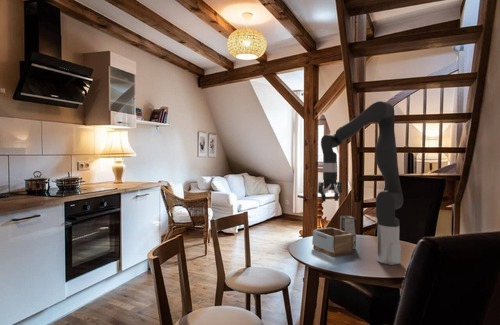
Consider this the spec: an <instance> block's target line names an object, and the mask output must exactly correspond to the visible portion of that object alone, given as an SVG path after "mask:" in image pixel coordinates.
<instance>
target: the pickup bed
mask: <svg viewBox="0 0 500 325" xmlns="http://www.w3.org/2000/svg"><path fill="white" fill-rule="evenodd" d="M314 230H316V231H319V232H321V233H324V234H327V235H330V236H333V237H334V243H333V252H332V253H331V252H329V251H327V250H324V249H322V248H320V247H317V246H315V245H313V249H314V250H317V251H319V252H322V253H324V254H325V255H328V256H331V257H333V258H337V257H338V258H339V257H343V256H348V255H353V253H354V252H353V251H354V249H353V234H351V233H348V232H345V231H342V230H340V228H339V229H338V228H334V227H332V226H331V227H321V228H315V229H314Z"/></svg>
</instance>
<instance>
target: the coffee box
mask: <svg viewBox="0 0 500 325" xmlns="http://www.w3.org/2000/svg"><path fill="white" fill-rule="evenodd" d="M339 219H340V220H339V230H342V231H345V232H348V233H351V234H353V250H356V249H357V248H356V247H357V218H356V217H354V216H352V215H340V218H339Z"/></svg>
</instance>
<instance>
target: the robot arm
mask: <svg viewBox="0 0 500 325" xmlns="http://www.w3.org/2000/svg"><path fill="white" fill-rule="evenodd" d="M376 121H377V123H378V130H379V131H378V132H379V133H378V138H377V142H376V143H375V144H376V145H375V159H376V160H375V161H376V165H377V168H378V169H379V171H380V173H381V175H382V177H383V180H384V186H385V188H384V189H385V190H382V191H379V192H378V193H377V194H376V200H375V215H376V216H375V217H376V219H377V234H376V235H377V240H376V244H377V246H376V261H377V262H379V263H381V264H385V265H390V266H393V265H399V264H401V252H402V251H401V250H402V248H401V247H402V244H401V242H400V219H399V218H397V217H396V211H395V210H398V209H399V210H400V209H401V208H402V206H403V204H404V195H403V191H402V186H401V181H400V172H399V163H398V162H399V161H398V151H397V143H396V133H395V109H394V107H393V105H392V104H391V103H390V102H386V101H383V100H382V101H381V100H378V101H375V102H373V103H371V104H370V105H369V106H368V107H366V109H365V110H363V111H362V112H360V114H359V115H357V116H356V117H354V118H353V119H352V120H350V121H349V122H347V123H345V124H344V125H342V126H340V127H339V128H338V129H336V131H335V133H334V134H323V136H322V137H321V139H320V146H321V150H322V155H323V163H322V164H323V166H322V180H323V182H321V181H319V182H318V185H317V187H318V189H317V193H318V194H320V195H321V196H320V197H321V201H322V202H324V203H325V202H326V197H327V196H326V194H327V192H328V191H333V193H334V199H333V200H334V202H337V201H339V198H340V197H339V195H340V193H342V190H343V189H342V187H343V186H342V181H337V180H338V163H337V162H338V160H337V159H338V158H337V153H336V152H334V149H333V148H337V147H339V146H340V145H341V144H342V143H344V142H345V141H346V140H348V139H349V138H352V137H353V136H355V135H356V134H357V133H359V131H361V129H363V127H365V126H367V125H368V124H371V123H373V122H376Z"/></svg>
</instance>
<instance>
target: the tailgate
mask: <svg viewBox="0 0 500 325" xmlns="http://www.w3.org/2000/svg"><path fill="white" fill-rule="evenodd" d="M311 241H312V243H311V244H312V245H313V246H314V245H315V246H317V247H320V248H322V249H324V250H327V251H329V252H331V253H332V252H333V243H334V237H333V236H330V235H327V234H324V233H321V232H319V231H316V230H315V229H313V230H312V240H311Z"/></svg>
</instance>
